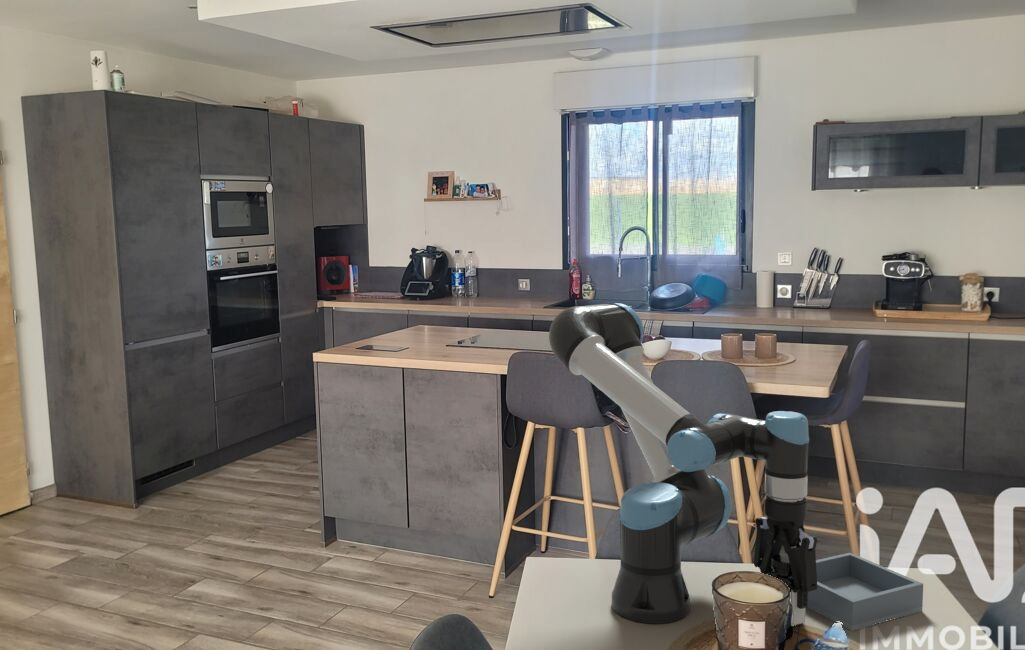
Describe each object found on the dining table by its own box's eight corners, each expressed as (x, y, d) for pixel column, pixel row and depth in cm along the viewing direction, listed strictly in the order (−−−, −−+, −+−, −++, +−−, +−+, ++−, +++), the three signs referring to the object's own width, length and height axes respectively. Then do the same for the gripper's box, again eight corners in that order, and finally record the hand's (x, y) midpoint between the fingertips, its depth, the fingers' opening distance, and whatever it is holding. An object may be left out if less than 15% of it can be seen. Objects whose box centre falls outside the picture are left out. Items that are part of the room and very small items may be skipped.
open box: (782, 594, 172) (783, 567, 171) (849, 577, 179) (849, 552, 179) (852, 631, 156) (853, 602, 155) (922, 611, 163) (923, 583, 163)
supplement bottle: (805, 629, 156) (806, 566, 155) (766, 626, 158) (767, 564, 157) (800, 613, 163) (801, 552, 162) (763, 610, 165) (764, 550, 163)
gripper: (841, 508, 151) (838, 632, 153) (765, 479, 168) (763, 591, 171) (809, 514, 147) (806, 641, 150) (734, 484, 165) (733, 598, 168)
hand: (783, 614), depth 160 cm, fingers closed on supplement bottle, 7 cm apart
